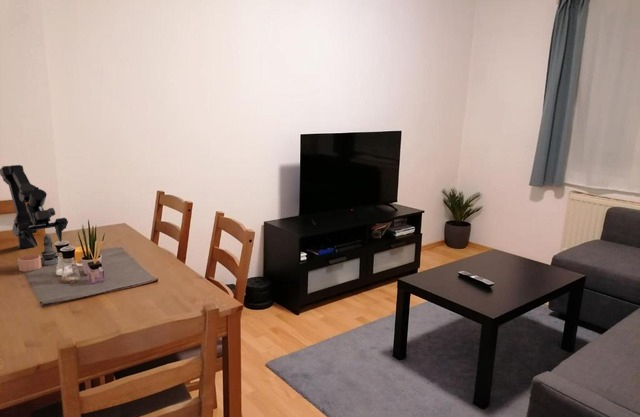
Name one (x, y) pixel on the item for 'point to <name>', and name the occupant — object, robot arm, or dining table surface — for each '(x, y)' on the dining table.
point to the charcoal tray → (49, 261)
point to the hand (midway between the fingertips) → (49, 243)
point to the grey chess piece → (48, 249)
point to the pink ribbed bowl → (29, 262)
